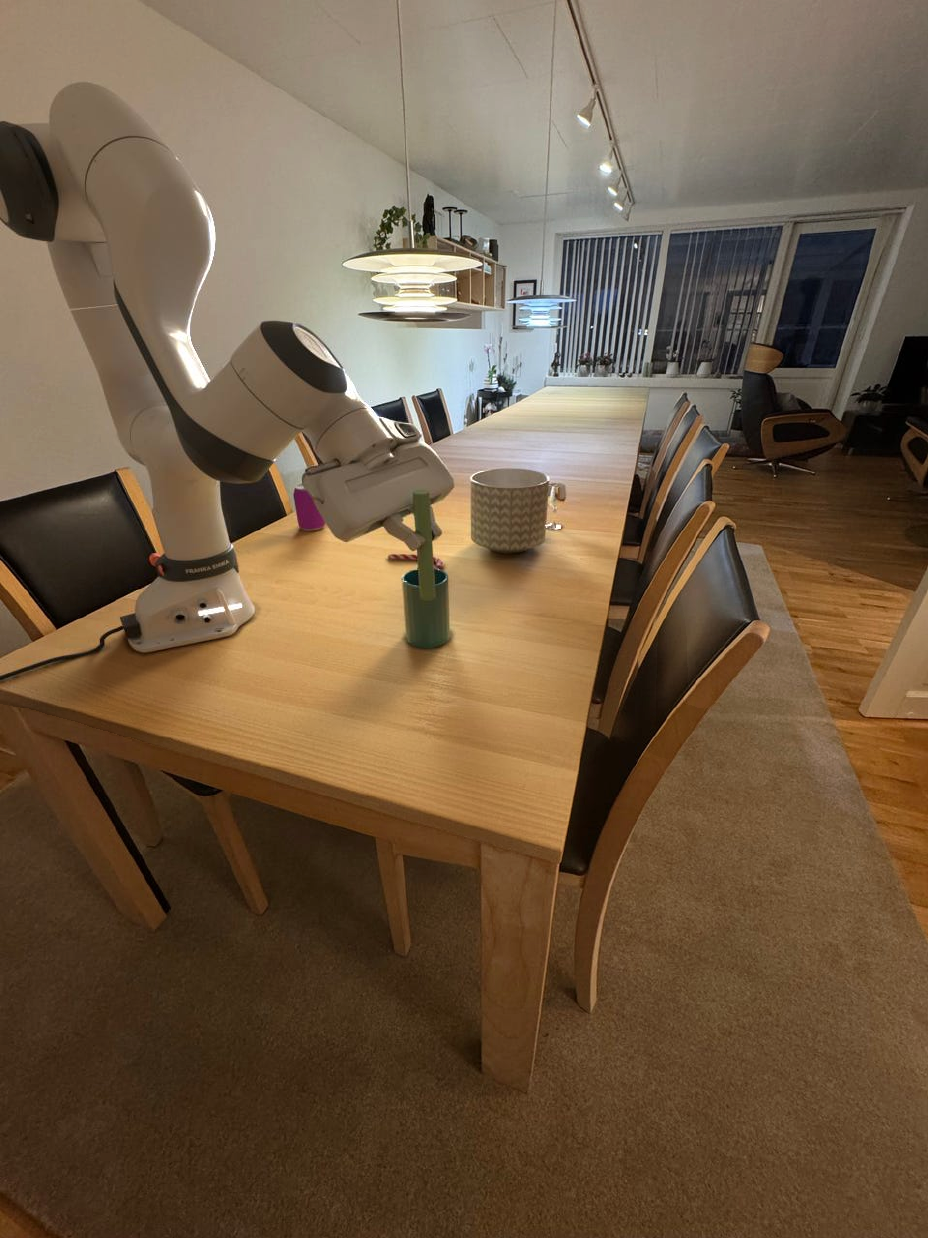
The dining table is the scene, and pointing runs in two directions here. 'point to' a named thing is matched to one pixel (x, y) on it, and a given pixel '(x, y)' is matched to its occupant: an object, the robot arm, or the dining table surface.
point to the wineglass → (556, 500)
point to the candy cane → (414, 557)
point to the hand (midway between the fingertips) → (428, 542)
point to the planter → (509, 509)
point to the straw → (426, 551)
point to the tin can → (426, 611)
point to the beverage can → (307, 510)
